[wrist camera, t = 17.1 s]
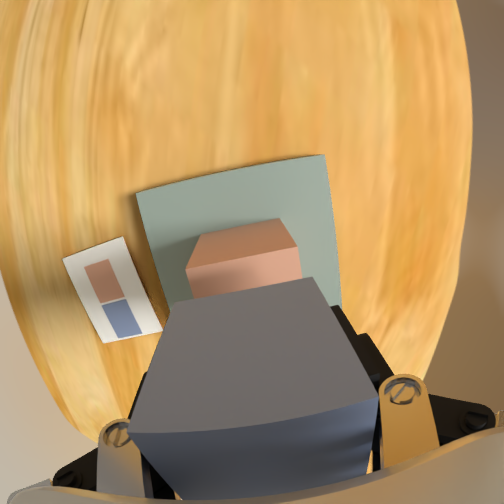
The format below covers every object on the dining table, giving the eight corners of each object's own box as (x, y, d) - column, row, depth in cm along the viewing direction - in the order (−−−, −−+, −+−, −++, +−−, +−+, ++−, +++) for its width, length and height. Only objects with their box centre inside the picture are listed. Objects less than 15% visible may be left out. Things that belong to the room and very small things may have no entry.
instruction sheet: (62, 258, 20) (61, 259, 20) (122, 236, 20) (122, 236, 20) (103, 342, 23) (103, 343, 23) (163, 330, 23) (162, 331, 22)
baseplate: (142, 190, 19) (135, 193, 18) (318, 154, 19) (324, 154, 18) (187, 340, 23) (184, 351, 22) (337, 312, 23) (342, 321, 21)
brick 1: (200, 234, 19) (185, 269, 13) (279, 218, 19) (297, 246, 13) (219, 304, 20) (213, 358, 15) (291, 289, 20) (310, 339, 15)
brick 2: (174, 302, 11) (126, 432, 5) (312, 276, 10) (379, 396, 5) (210, 398, 12) (200, 517, 6) (322, 379, 12) (361, 494, 6)
